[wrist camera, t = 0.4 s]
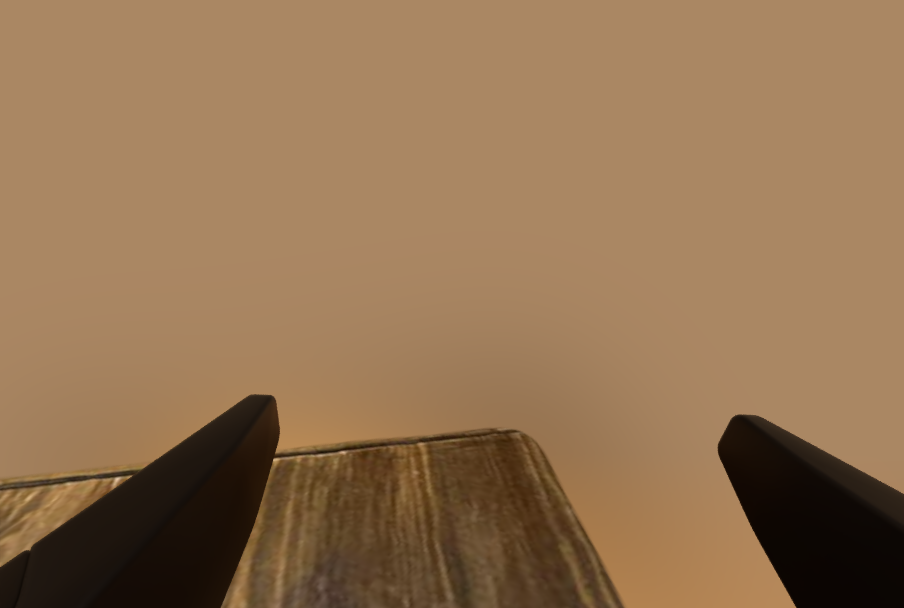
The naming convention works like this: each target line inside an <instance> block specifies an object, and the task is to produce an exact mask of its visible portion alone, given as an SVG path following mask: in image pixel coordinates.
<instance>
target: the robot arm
mask: <svg viewBox="0 0 904 608" xmlns="http://www.w3.org/2000/svg"><path fill="white" fill-rule="evenodd" d="M279 434H280V427H279V419H278V412H277V404H276V400H275V398H274V397H273V396H272V395H256V394H254V395H249V396H248V397H246V398H244V399H243V400H242V401H240V402H239V403H237V404H236V405H234V406H233V407H232V408H230V409H229V410H227V411H226V412H224V413H223V414H221V415H220V416H219V417H217V418H216V419H214V420H213V421H211V422H210V423H208V424H207V425H206V426H204V427H203V428H201V429H200V430H199V431H197V432H196V433H194V434H193V435H191V436H190V437H188V438H187V439H185V440H184V441H182V442H181V443H180V444H179V445H177V446H175V447H174V448H172V449H171V450H170V451H168V452H167V453H165V454H164V455H163V456H161V457H159V458H158V459H156V460H155V461H154V462H152V463H151V464H149V465H148V466H146V467H145V468H143V469H142V470H141V471H139V472H138V473H136V474H135V475H133V476H132V477H130V478H129V479H128V480H126V481H125V482H123V483H122V484H120V485H119V486H117V487H116V488H115V489H113V490H112V491H110V492H109V493H107V494H106V495H104V496H103V497H102V498H100V499H99V500H97V501H96V502H94V503H93V504H91V505H90V506H89V507H87V508H86V509H84V510H83V511H81V512H80V513H78V514H77V515H76V516H74V517H73V518H71V519H70V520H68V521H67V522H65V523H64V524H63V525H61V526H60V527H58V528H57V529H55V530H54V531H52V532H51V533H50V534H48V535H47V536H45V537H44V538H42V539H41V540H39V541H38V542H37V543H35V544H34V545H33V546H32V547H31V550H30V551H29V550H26V551H23V552H22V553H20V554H19V555H17V556H16V557H15V558H13V559H12V560H10V561H9V562H7V563H6V564H4V565H3V566H2V567H0V608H221V605H222V603H223V601H224V598H225V596H226V593H227V591H228V588H229V586H230V583H231V581H232V578H233V576H234V574H235V571H236V569H237V566H238V564H239V561H240V559H241V556H242V554H243V551H244V549H245V547H246V544H247V542H248V539H249V537H250V534H251V531H252V529H253V526H254V523H255V520H256V517H257V514H258V511H259V507H260V504H261V500H262V497H263V493H264V490H265V487H266V483H267V480H268V476H269V473H270V469H271V466H272V462H273V459H274V455H275V452H276V448H277V445H278V441H279ZM718 454H719V457H720V460H721V462H722V464H723V466H724V468H725V470H726V473H727V475H728V477H729V479H730V481H731V483H732V486H733V488H734V490H735V492H736V495H737V497H738V499H739V501H740V503H741V506H742V508H743V510H744V512H745V514H746V516H747V519H748V521H749V523H750V525H751V527H752V529H753V531H754V532H755V535H756V537H757V539H758V540H759V542H760V544H761V546H762V548H763V549H764V551H765V553H766V555H767V556H768V558H769V560H770V562H771V564H772V565H773V567H774V569H775V571H776V572H777V574H778V576H779V578H780V580H781V581H782V583H783V585H784V587H785V588H786V590H787V592H788V594H789V595H790V597H791V599H792V601H793V603H794V604H795V606H796V608H904V494H903V493H901V492H899V491H897V490H895V489H894V488H892V487H890V486H888V485H886V484H884V483H882V482H881V481H878V480H877V479H875V478H873V477H871V476H869V475H868V474H866V473H864V472H862V471H860V470H858V469H856V468H855V467H853V466H851V465H849V464H847V463H845V462H843V461H841V460H840V459H838V458H836V457H834V456H832V455H830V454H828V453H827V452H825V451H823V450H821V449H819V448H817V447H816V446H814V445H812V444H810V443H808V442H806V441H804V440H803V439H801V438H799V437H797V436H795V435H793V434H791V433H790V432H788V431H786V430H784V429H782V428H780V427H779V426H776V425H775V424H773V423H771V422H769V421H767V420H766V419H764V418H761V417H759V416H756V415H735V416H734V417H733V418H732V419H731V420H730V422H729V424H728V426H727V428H726V430H725V432H724V434H723V435H722V437H721V439H720V441H719V443H718Z"/></svg>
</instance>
